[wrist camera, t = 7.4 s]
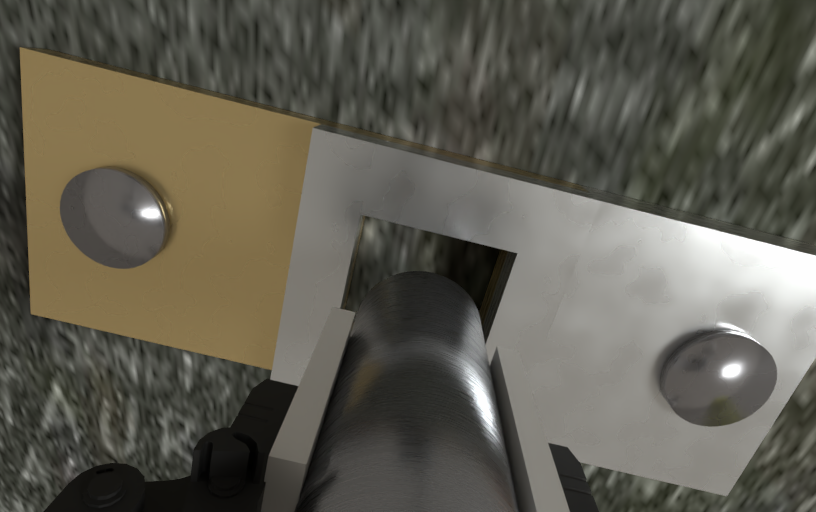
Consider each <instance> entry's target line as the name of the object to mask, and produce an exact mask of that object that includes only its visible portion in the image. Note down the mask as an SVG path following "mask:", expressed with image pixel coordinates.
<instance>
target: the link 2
mask: <svg viewBox="0 0 816 512" xmlns="http://www.w3.org/2000/svg"><path fill="white" fill-rule="evenodd" d="M580 186H581V187H583V188H584V189H585V190H587V191H588V192H586V191H582V190H578V189H574V188H570V187H566V186H562V185H558V184H554V183H550V182H547V181H543V180H539V179H535V178H531V177H527V176H523V175H519V174H515V173H511V172H507V171H503V170H499V169H496V168H492V167H488V166H484V165H480V164H476V163H472V162H468V161H464V160H460V159H456V158H452V157H448V156H445V155H441V154H437V153H433V152H429V151H425V150H421V149H417V148H413V147H409V146H405V145H401V144H397V143H394V142H390V141H386V140H382V139H378V138H374V137H370V136H366V135H362V134H358V133H354V132H350V131H346V130H343V129H339V128H335V127H331V126H327V125H323V124H320V125H318V126H316V127H314V128H313V129H312V135H311V141H310V147H309V153H308V159H307V165H306V171H305V177H304V183H303V189H302V194H301V200H300V206H299V212H298V218H297V224H296V230H295V236H294V242H293V248H292V254H291V260H290V266H289V272H288V278H287V284H286V290H285V296H284V302H283V308H282V313H281V319H280V325H279V331H278V337H277V343H276V349H275V355H274V361H273V367H272V373H271V379H270V380H274V381H279V382H283V383H287V384H292V385H296V386H299V384H300V382H301V379H302V377H303V375H304V372H305V370H306V368H307V365H308V363H309V361H310V358H311V356H312V354H313V352H314V349H315V347H316V345H317V342H318V340H319V338H320V335H321V333H322V331H323V328H324V326H325V324H326V321H327V319H328V317H329V314H330V312H331V310H332V307H335V308H340V309H343V306H344V301H345V296H346V292H347V287H348V283H349V278H350V273H351V269H352V264H353V260H354V255H355V251H356V246H357V241H358V237H359V232H360V228H361V223H362V219H363V215H365V216H369V217H373V218H377V219H381V220H385V221H389V222H393V223H397V224H401V225H405V226H409V227H413V228H417V229H421V230H425V231H429V232H433V233H437V234H442V235H446V236H450V237H454V238H458V239H462V240H466V241H470V242H474V243H478V244H482V245H486V246H490V247H494V248H498V249H502V250H506V251H508V253H507V256H506V259H505V262H504V265H503V268H502V271H501V274H500V277H499V280H498V282H497V285H496V288H495V291H494V294H493V297H492V300H491V303H490V306H489V309H488V312H487V315H486V318H485V321H484V324H483V327H482V330H483V335H484V340H485V345H486V350H487V355H488V360H489V365H490V364H491V361H492V358H493V355H494V353H495V350H496V347H497V346H498V347H503V348H507V349H511V350H515V351H519V353H520V356H521V359H522V363H523V366H524V369H525V372H526V375H527V378H528V381H529V385H530V388H531V391H532V394H533V397H534V400H535V403H536V407H537V410H538V413H539V416H540V419H541V422H542V426H543V429H544V432H545V435H546V438H547V441H548V443H552V444H556V445H560V446H565V447H568V448H569V450H570V451H571V452H572V453H573V455H574V456H575V457H576V458H577V460H578V461H579V462H581V463H586V464H590V465H594V466H599V467H603V468H607V469H612V470H616V471H620V472H625V473H629V474H633V475H638V476H642V477H646V478H651V479H655V480H659V481H664V482H668V483H672V484H677V485H681V486H685V487H690V488H694V489H698V490H703V491H707V492H711V493H716V494H720V495H724V496H727V495H728V494H729V492H730V490H731V489H732V487H733V486H734V484H735V483H736V481H737V480H738V478H739V476H740V475H741V473H742V472H743V470H744V469H745V467H746V465H747V464H748V462H749V461H750V459H751V458H752V456H753V455H754V453H755V451H756V450H757V448H758V447H759V445H760V444H761V442H762V440H763V439H764V437H765V436H766V434H767V433H768V431H769V429H770V428H771V426H772V425H773V423H774V422H775V420H776V419H777V417H778V415H779V414H780V412H781V411H782V409H783V408H784V406H785V404H786V403H787V401H788V400H789V398H790V397H791V395H792V394H793V392H794V390H795V389H796V387H797V386H798V384H799V383H800V381H801V379H802V378H803V376H804V375H805V373H806V372H807V370H808V368H809V367H810V365H811V364H812V362H813V361H814V359H815V358H816V245H813V244H809V243H805V242H801V241H797V240H794V239H790V238H786V237H782V236H778V235H774V234H770V233H766V232H762V231H758V230H754V229H750V228H747V227H743V226H739V225H735V224H731V223H727V222H723V221H719V220H715V219H711V218H707V217H703V216H700V215H696V214H692V213H688V212H684V211H680V210H676V209H672V208H668V207H664V206H660V205H656V204H653V203H649V202H645V201H641V200H637V199H633V198H629V197H625V196H621V195H617V194H613V193H609V192H606V191H602V190H598V189H594V188H590V187H586V186H582V185H580Z"/></svg>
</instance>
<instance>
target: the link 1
mask: <svg viewBox="0 0 816 512" xmlns="http://www.w3.org/2000/svg"><path fill="white" fill-rule="evenodd" d="M20 67H21V91H22V114H23V138H24V162H25V186H26V210H27V233H28V257H29V281H30V305H31V314H33V315H37V316H42V317H46V318H50V319H55V320H59V321H63V322H68V323H72V324H76V325H80V326H85V327H89V328H93V329H98V330H102V331H106V332H111V333H115V334H119V335H123V336H128V337H132V338H136V339H141V340H145V341H149V342H154V343H158V344H162V345H166V346H171V347H175V348H179V349H184V350H188V351H192V352H197V353H201V354H205V355H209V356H214V357H218V358H222V359H227V360H231V361H235V362H240V363H244V364H248V365H252V366H257V367H261V368H265V369H270V370H272V367H273V361H274V355H275V349H276V343H277V337H278V331H279V325H280V319H281V313H282V308H283V302H284V296H285V290H286V284H287V278H288V272H289V266H290V260H291V254H292V248H293V242H294V236H295V230H296V224H297V218H298V212H299V206H300V200H301V194H302V189H303V183H304V177H305V171H306V165H307V159H308V153H309V147H310V141H311V135H312V129H313V128H314V127H316V126H318V125H320V124H323V125H327V126H331V127H335V128H339V129H343V130H346V131H350V132H354V133H358V134H362V135H366V136H370V137H374V138H378V139H382V140H386V141H390V142H394V143H397V144H401V145H405V146H409V147H413V148H417V149H421V150H425V151H429V152H433V153H437V154H441V155H445V156H448V157H452V158H456V159H460V160H464V161H468V162H472V163H476V164H480V165H484V166H488V167H492V168H496V169H499V170H503V171H507V172H511V173H515V174H519V175H523V176H527V177H531V178H535V179H539V180H543V181H547V182H550V183H554V184H558V185H562V186H566V187H570V188H574V189H578V190H582V191H586V192H588V191H587V190H585V189H584V188H583V187H581V186H580V185H578V184H574V183H570V182H566V181H562V180H559V179H555V178H551V177H547V176H543V175H539V174H535V173H531V172H527V171H523V170H519V169H515V168H512V167H508V166H504V165H500V164H496V163H492V162H488V161H484V160H480V159H476V158H472V157H468V156H465V155H461V154H457V153H453V152H449V151H445V150H441V149H437V148H433V147H429V146H425V145H421V144H418V143H414V142H410V141H406V140H402V139H398V138H394V137H390V136H386V135H382V134H378V133H374V132H371V131H367V130H363V129H359V128H355V127H351V126H347V125H343V124H339V123H335V122H331V121H327V120H324V119H320V118H316V117H312V116H308V115H304V114H300V113H296V112H292V111H288V110H284V109H280V108H277V107H273V106H269V105H265V104H261V103H257V102H253V101H249V100H245V99H241V98H237V97H233V96H229V95H226V94H222V93H218V92H214V91H210V90H206V89H202V88H198V87H194V86H190V85H186V84H182V83H179V82H175V81H171V80H167V79H163V78H159V77H155V76H151V75H147V74H143V73H139V72H135V71H132V70H128V69H124V68H120V67H116V66H112V65H108V64H104V63H100V62H96V61H92V60H88V59H85V58H81V57H77V56H73V55H69V54H65V53H61V52H57V51H53V50H49V49H38V48H24V47H20ZM364 221H365V215H363V219H362V223H361V228H360V232H359V237H358V241H357V246H356V251H355V255H354V260H353V264H352V269H351V273H350V278H349V283H348V287H347V292H346V296H345V301H344V306H343V309H344V310H345V307H346V302H347V298H348V293H349V289H350V284H351V279H352V275H353V270H354V266H355V261H356V257H357V252H358V248H359V243H360V239H361V234H362V230H363V225H364ZM507 253H508V251H506V250H502V249H500V252H499V255H498V258H497V261H496V264H495V267H494V270H493V273H492V275H491V278H490V281H489V284H488V287H487V290H486V293H485V296H484V299H483V302H482V305H481V308H480V311H479V315H480V320H481V325H482V327H483V324H484V321H485V318H486V315H487V312H488V309H489V306H490V303H491V300H492V297H493V294H494V291H495V288H496V285H497V282H498V280H499V277H500V274H501V271H502V268H503V265H504V262H505V259H506V256H507ZM353 324H354V321H353ZM352 328H353V325H352ZM351 331H352V330H351Z"/></svg>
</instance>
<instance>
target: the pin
mask: <svg viewBox="0 0 816 512" xmlns="http://www.w3.org/2000/svg"><path fill="white" fill-rule="evenodd" d="M294 512H519V509H518V504H517V499H516V494H515V489H514V484H513V479H512V474H511V469H510V465H509V460H508V455H507V450H506V445H505V440H504V435H503V430H502V425H501V420H500V415H499V410H498V405H497V400H496V395H495V390H494V385H493V380H492V375H491V370H490V365H489V360H488V355H487V350H486V345H485V340H484V335H483V330H482V325H481V320H480V315H479V312H478V309H477V307H476V305H475V303H474V301H473V300H472V298H471V297H470V296H469V294H468V293H467V292H466V291H465V290H464V289H463V288H462V287H461V286H459V285H458V284H457V283H455V282H454V281H452V280H450V279H448V278H446V277H444V276H441V275H438V274H435V273H430V272H423V271H411V272H404V273H399V274H396V275H393V276H391V277H388V278H386V279H384V280H383V281H381V282H379V283H378V284H377V285H375V286H374V287H373V288H372V289H371V290H370V291H369V292H368V293H367V294H366V296H365V297H364V299H363V300H362V302H361V304H360V306H359V309H358V312H357V315H356V318H355V321H354V324H353V328H352V331H351V334H350V338H349V342H348V345H347V348H346V351H345V354H344V358H343V361H342V364H341V367H340V370H339V374H338V377H337V380H336V383H335V386H334V389H333V393H332V396H331V399H330V402H329V405H328V409H327V412H326V415H325V418H324V421H323V424H322V428H321V431H320V434H319V437H318V440H317V444H316V447H315V450H314V453H313V456H312V459H311V463H310V466H309V469H308V472H307V475H306V479H305V482H304V485H303V488H302V491H301V494H300V498H299V501H298V503H297V505H296V508H295V511H294Z"/></svg>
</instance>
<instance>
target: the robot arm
mask: <svg viewBox="0 0 816 512" xmlns="http://www.w3.org/2000/svg"><path fill="white" fill-rule="evenodd" d="M354 317H355V312H352V311H348V310H344V309H340V308H335V307H332V310H331V312H330V314H329V317H328V319H327V321H326V324H325V326H324V328H323V331H322V333H321V335H320V338H319V340H318V342H317V345H316V347H315V349H314V352H313V354H312V356H311V358H310V361H309V363H308V365H307V368H306V370H305V372H304V375H303V377H302V379H301V382H300V384H299V386H296V385H292V384H287V383H283V382H279V381H274V380H270V379H266V380H264V381H263V382H262V383H260V384H259V385H257V386H256V387H254V388H253V389H252V391H251V392H250V394H249V396H248V398H247V399H246V401H245V404H244V405H243V406H242V408H241V410H240V412H239V413H238V416H237V417H236V419H235V420H234V422H233V424H232V426H231V427H230V428H221V429H218V430H215V431H212V432H210V433H208V434H207V435H205V436H204V437H203V438H202V439H200V440H199V442H198V443H197V445H196V447H195V449H194V452H193V461H192V471H191V476H188V477H185V478H182V479H176V480H170V481H153V482H145V480H144V476H143V475H142V474H141V472H140V471H139V470H138V469H137V468H134V467H132V466H130V465H127V464H119V463H110V464H105V465H100V466H95V467H93V468H91V469H89V470H87V471H85V472H83V473H81V474H80V475H78V476H77V477H76V478H75V479H73V480H72V481H71V482H70V483H69V484H68V485H67V486H66V487H65V488H64V489H63V491H62V492H61V493H60V494H59V495H58V496H57V497H56V498H55V500H54V501H53V502H52V503H51V504H50V505H49V506H48V507H47V509H46V510H45V511H44V512H294V511H295V508H296V505H297V503H298V501H299V498H300V494H301V491H302V488H303V485H304V482H305V479H306V475H307V472H308V469H309V466H310V463H311V459H312V456H313V453H314V450H315V447H316V444H317V440H318V437H319V434H320V431H321V428H322V424H323V421H324V418H325V415H326V412H327V409H328V405H329V402H330V399H331V396H332V393H333V389H334V386H335V383H336V380H337V377H338V374H339V370H340V367H341V364H342V361H343V358H344V354H345V351H346V348H347V345H348V342H349V338H350V334H351V330H352V325H353V321H354ZM490 370H491V375H492V380H493V385H494V390H495V395H496V400H497V405H498V410H499V415H500V420H501V425H502V430H503V435H504V440H505V445H506V450H507V455H508V460H509V465H510V469H511V474H512V479H513V484H514V489H515V494H516V499H517V504H518V509H519V512H599V511H598V508H597V505H596V503H595V500H594V498H593V496H591V490H590V487H589V485H588V482H586V477H585V474H584V472H583V469H582V466H581V464H580V462H579V461H578V460H577V458H576V457H575V456H574V455H573V453H572V452H571V451H570V450H569V448H568V447H565V446H560V445H556V444H552V443H548V441H547V438H546V435H545V432H544V429H543V426H542V422H541V419H540V416H539V413H538V410H537V407H536V403H535V400H534V397H533V394H532V391H531V388H530V385H529V381H528V378H527V375H526V372H525V369H524V366H523V363H522V359H521V356H520V353H519V351H515V350H511V349H507V348H503V347H498V346H497V347H496V350H495V353H494V355H493V358H492V361H491V364H490Z"/></svg>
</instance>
